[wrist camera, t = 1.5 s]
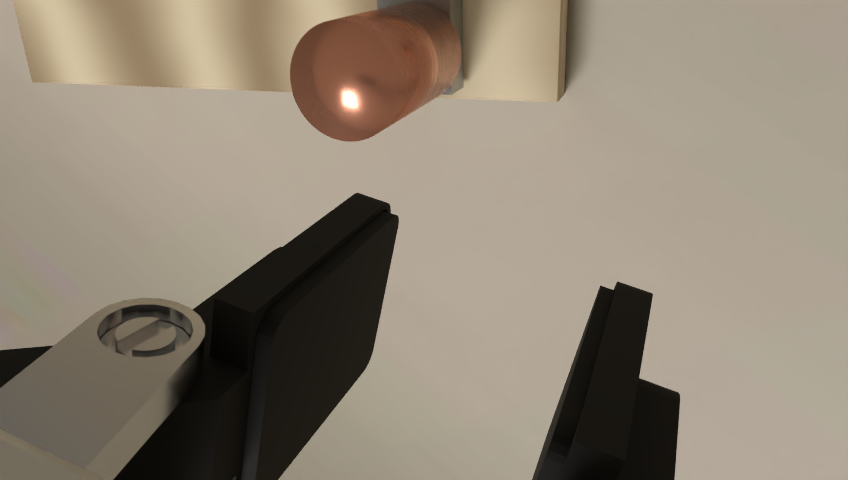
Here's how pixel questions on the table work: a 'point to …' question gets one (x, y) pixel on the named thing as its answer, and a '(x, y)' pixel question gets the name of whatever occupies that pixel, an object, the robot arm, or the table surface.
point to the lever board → (272, 43)
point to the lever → (378, 65)
